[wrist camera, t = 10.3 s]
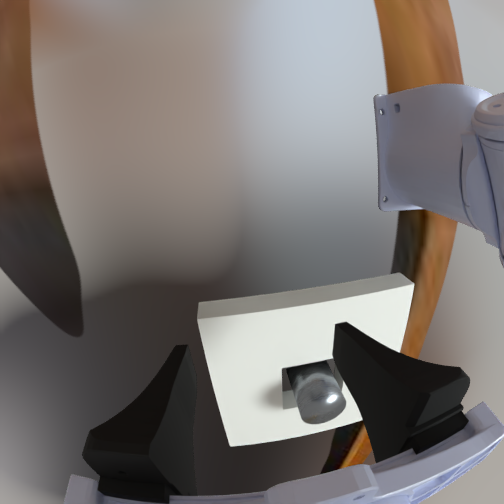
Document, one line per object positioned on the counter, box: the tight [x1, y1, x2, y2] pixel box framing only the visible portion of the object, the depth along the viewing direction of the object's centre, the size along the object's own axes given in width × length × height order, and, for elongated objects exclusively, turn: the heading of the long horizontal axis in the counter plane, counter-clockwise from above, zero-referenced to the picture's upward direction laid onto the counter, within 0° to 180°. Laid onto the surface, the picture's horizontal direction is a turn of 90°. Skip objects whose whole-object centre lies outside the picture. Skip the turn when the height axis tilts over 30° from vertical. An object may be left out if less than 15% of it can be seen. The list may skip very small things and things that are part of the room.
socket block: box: [197, 273, 414, 446], centre depth 25 cm, size 18×18×2 cm
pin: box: [286, 360, 346, 424], centre depth 23 cm, size 4×4×6 cm
